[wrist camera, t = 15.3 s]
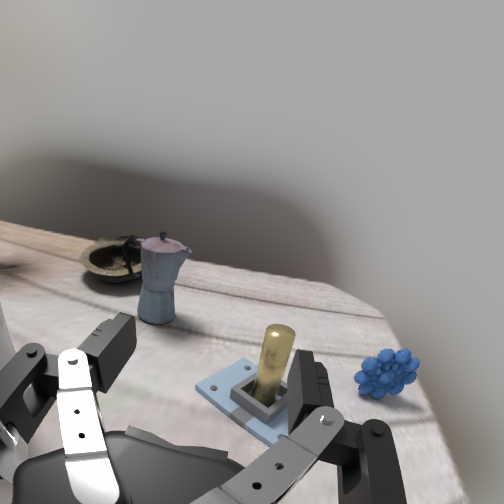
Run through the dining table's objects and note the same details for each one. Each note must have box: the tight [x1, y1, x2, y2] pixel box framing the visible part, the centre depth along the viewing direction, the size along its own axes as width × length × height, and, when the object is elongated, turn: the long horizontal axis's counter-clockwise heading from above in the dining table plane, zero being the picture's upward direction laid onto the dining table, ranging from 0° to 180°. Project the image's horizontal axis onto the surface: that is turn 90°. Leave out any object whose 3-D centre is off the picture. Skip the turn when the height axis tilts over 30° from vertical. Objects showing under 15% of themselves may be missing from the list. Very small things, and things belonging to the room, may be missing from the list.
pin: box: [251, 324, 295, 408], centre depth 39 cm, size 4×4×14 cm
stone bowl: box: [79, 235, 145, 284], centre depth 76 cm, size 25×25×9 cm
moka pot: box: [122, 232, 192, 324], centre depth 58 cm, size 10×15×20 cm, turn 100°
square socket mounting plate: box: [195, 358, 288, 447], centre depth 41 cm, size 19×12×4 cm, turn 49°
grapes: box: [354, 349, 420, 398], centre depth 43 cm, size 12×7×12 cm, turn 68°
